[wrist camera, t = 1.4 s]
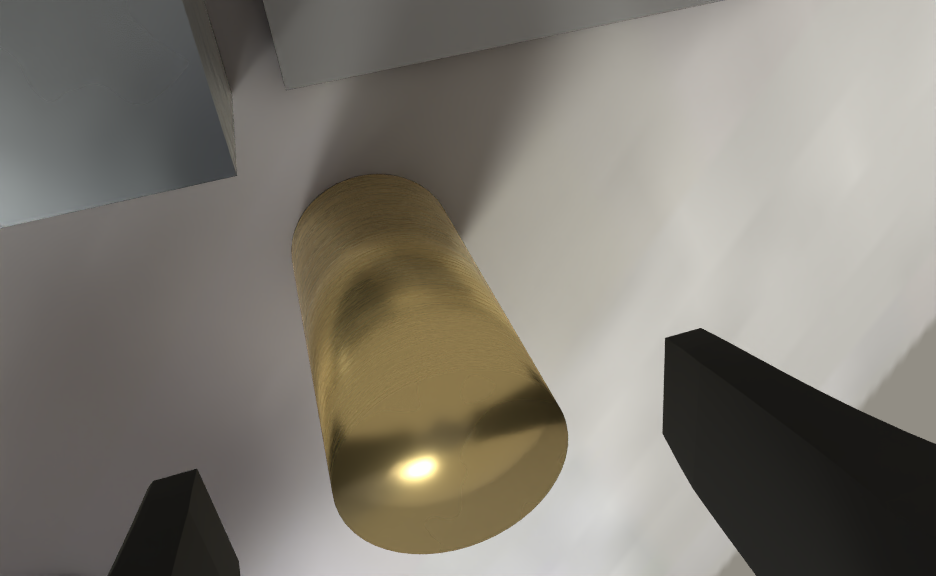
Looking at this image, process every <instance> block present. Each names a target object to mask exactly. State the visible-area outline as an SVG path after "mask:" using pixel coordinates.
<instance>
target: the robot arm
mask: <svg viewBox="0 0 936 576" xmlns="http://www.w3.org/2000/svg"><path fill="white" fill-rule="evenodd" d="M663 435H664V437H665V439H666V441H667V443H668V445H669V446H670V448H671V450H672V452H673V454H674V456H675V458H676V460H677V461H678V463H679V465H680V467H681V469H682V470H683V472H684V474H685V476H686V477H687V479H688V481H689V483H690V484H691V486H692V488H693V489H694V491H695V492H696V494H697V495H698V496H699V498H700V499H701V501H702V502H703V504H704V505H705V506H706V508H707V509H708V510H709V512H710V513H711V515H712V516H713V517H714V519H715V520H716V522H717V523H718V524H719V526H720V527H721V528H722V530H723V531H724V533H725V534H726V535H727V537H728V538H729V539H730V541H731V542H732V543H733V545H734V546H735V548H736V549H737V550H738V552H739V553H740V554H741V556H742V557H743V558H744V560H745V561H746V562H747V564H748V565H749V567H750V568H751V569H752V570H753V572H754V573H755V575H756V576H936V444H934V443H932V442H929V441H927V440H925V439H922V438H920V437H917V436H915V435H913V434H910V433H908V432H906V431H903V430H901V429H899V428H897V427H894V426H892V425H890V424H887V423H886V422H883V421H881V420H879V419H877V418H875V417H872V416H870V415H868V414H866V413H864V412H861V411H859V410H857V409H855V408H853V407H851V406H849V405H847V404H845V403H843V402H841V401H839V400H837V399H835V398H833V397H831V396H829V395H827V394H825V393H823V392H821V391H819V390H817V389H815V388H813V387H811V386H809V385H807V384H805V383H803V382H801V381H799V380H798V379H796V378H794V377H792V376H790V375H788V374H786V373H784V372H782V371H781V370H779V369H777V368H775V367H773V366H771V365H769V364H768V363H766V362H764V361H762V360H760V359H758V358H757V357H755V356H753V355H751V354H749V353H747V352H746V351H744V350H742V349H740V348H738V347H736V346H734V345H733V344H731V343H729V342H727V341H725V340H723V339H721V338H720V337H718V336H716V335H714V334H712V333H710V332H708V331H706V330H704V329H702V328H699V329H696V330H692V331H688V332H685V333H681V334H678V335H674V336H670V337H667V338H665V364H664V400H663ZM108 576H240V569H239V561H238V558H237V556H236V554H235V552H234V550H233V547H232V545H231V543H230V541H229V538H228V536H227V534H226V532H225V530H224V527H223V525H222V523H221V521H220V518H219V516H218V514H217V512H216V510H215V507H214V505H213V503H212V501H211V498H210V496H209V494H208V492H207V490H206V487H205V485H204V483H203V481H202V478H201V476H200V474H199V472H198V470H197V469H194V470H191V471H187V472H184V473H180V474H176V475H173V476H169V477H166V478H162V479H159V480H155V481H153V482H152V483H151V485H150V486H149V488H148V489H147V492H146V494H145V496H144V498H143V501H142V503H141V505H140V507H139V510H138V512H137V514H136V516H135V519H134V521H133V523H132V525H131V527H130V530H129V532H128V534H127V536H126V538H125V540H124V543H123V545H122V547H121V549H120V551H119V553H118V555H117V557H116V560H115V562H114V564H113V566H112V568H111V570H110V572H109V574H108Z"/></svg>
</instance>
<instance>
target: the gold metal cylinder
mask: <svg viewBox="0 0 936 576" xmlns="http://www.w3.org/2000/svg"><path fill="white" fill-rule="evenodd" d="M291 252H292V263H293V269H294V275H295V281H296V286H297V292H298V298H299V304H300V309H301V315H302V321H303V327H304V332H305V338H306V344H307V350H308V355H309V361H310V367H311V373H312V378H313V384H314V390H315V396H316V401H317V407H318V413H319V419H320V424H321V430H322V436H323V442H324V447H325V453H326V459H327V465H328V470H329V476H330V482H331V488H332V493H333V498H334V502H335V506H336V508H337V510H338V513H339V515H340V516H341V518H342V519H343V521H344V522H345V524H346V525H347V526H348V527H349V528H350V529H351V530H352V531H353V532H354V533H355V534H357V535H358V536H359V537H361V538H362V539H364V540H365V541H367V542H369V543H371V544H373V545H375V546H378V547H381V548H384V549H386V550H391V551H395V552H400V553H408V554H434V553H443V552H448V551H454V550H458V549H462V548H465V547H469V546H472V545H475V544H477V543H480V542H483V541H485V540H487V539H489V538H491V537H494V536H496V535H498V534H499V533H501V532H503V531H505V530H506V529H508V528H510V527H511V526H513V525H514V524H516V523H517V522H518V521H520V520H521V519H522V518H524V517H525V516H526V515H527V514H528V513H530V512H531V511H532V510H533V509H534V508H535V507H536V506H537V505H538V504H539V503H540V502H541V501H542V500H543V498H544V497H545V496H546V495H547V493H548V492H549V491H550V489H551V488H552V486H553V485H554V483H555V482H556V480H557V478H558V476H559V474H560V472H561V470H562V467H563V464H564V461H565V458H566V453H567V448H568V431H567V424H566V421H565V418H564V415H563V413H562V411H561V409H560V407H559V406H558V404H557V402H556V400H555V399H554V397H553V395H552V394H551V392H550V390H549V388H548V387H547V385H546V383H545V382H544V380H543V378H542V376H541V375H540V373H539V371H538V370H537V368H536V366H535V364H534V363H533V361H532V359H531V358H530V356H529V354H528V353H527V351H526V349H525V347H524V346H523V344H522V342H521V341H520V339H519V337H518V335H517V334H516V332H515V330H514V329H513V327H512V325H511V323H510V322H509V320H508V318H507V317H506V315H505V313H504V311H503V310H502V308H501V306H500V305H499V303H498V301H497V299H496V298H495V296H494V294H493V293H492V291H491V289H490V288H489V286H488V284H487V282H486V281H485V279H484V277H483V276H482V274H481V272H480V270H479V269H478V267H477V265H476V264H475V262H474V260H473V258H472V257H471V255H470V253H469V252H468V250H467V248H466V246H465V245H464V243H463V241H462V240H461V238H460V236H459V235H458V233H457V231H456V229H455V228H454V226H453V224H452V223H451V221H450V219H449V217H448V216H447V214H446V212H445V211H444V209H443V207H442V205H441V204H440V203H439V202H438V200H437V199H436V198H435V197H434V196H433V195H432V194H431V193H430V192H429V191H428V190H426V189H425V188H423V187H422V186H420V185H419V184H417V183H415V182H413V181H411V180H408V179H405V178H402V177H398V176H393V175H385V174H370V175H363V176H358V177H354V178H351V179H347V180H345V181H343V182H340V183H338V184H336V185H334V186H332V187H331V188H329V189H327V190H326V191H325V192H323V193H322V194H321V195H319V196H318V197H317V198H316V199H315V200H314V201H313V202H312V203H311V204H310V205H309V207H308V208H307V209H306V210H305V212H304V213H303V215H302V217H301V218H300V220H299V222H298V224H297V227H296V229H295V232H294V236H293V240H292V249H291Z"/></svg>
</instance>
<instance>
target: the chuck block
mask: <svg viewBox="0 0 936 576" xmlns="http://www.w3.org/2000/svg"><path fill="white" fill-rule="evenodd" d="M233 176H237V168H236V152H235V135H234V119H233V103H232V93H231V90H230V87H229V83H228V80H227V77H226V73H225V70H224V67H223V63H222V60H221V57H220V53H219V50H218V47H217V43H216V40H215V37H214V33H213V30H212V27H211V23H210V20H209V16H208V13H207V10H206V6H205V3H204V0H0V228H4V227H8V226H13V225H17V224H22V223H26V222H31V221H35V220H40V219H44V218H49V217H53V216H58V215H62V214H67V213H71V212H76V211H80V210H85V209H89V208H94V207H98V206H103V205H107V204H112V203H116V202H121V201H125V200H130V199H134V198H139V197H143V196H148V195H152V194H157V193H161V192H166V191H170V190H175V189H179V188H184V187H188V186H193V185H197V184H202V183H206V182H211V181H215V180H220V179H224V178H229V177H233Z"/></svg>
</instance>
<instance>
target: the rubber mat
mask: <svg viewBox="0 0 936 576" xmlns="http://www.w3.org/2000/svg"><path fill="white" fill-rule="evenodd" d="M718 1H723V0H263V3H264V7H265V11H266V15H267V19H268V23H269V27H270V31H271V34H272V38H273V42H274V46H275V50H276V54H277V58H278V62H279V65H280V69H281V73H282V77H283V81H284V85H285V89H286V90H291V89H296V88H301V87H305V86H310V85H315V84H320V83H325V82H330V81H335V80H339V79H344V78H349V77H354V76H359V75H364V74H369V73H373V72H378V71H383V70H388V69H393V68H398V67H403V66H408V65H412V64H417V63H422V62H427V61H432V60H437V59H442V58H446V57H451V56H456V55H461V54H466V53H471V52H476V51H480V50H485V49H490V48H495V47H500V46H505V45H510V44H514V43H519V42H524V41H529V40H534V39H539V38H544V37H548V36H553V35H558V34H563V33H568V32H573V31H578V30H582V29H587V28H592V27H597V26H602V25H607V24H612V23H616V22H621V21H626V20H631V19H636V18H641V17H646V16H650V15H655V14H660V13H665V12H670V11H675V10H680V9H684V8H689V7H694V6H699V5H704V4H709V3H714V2H718Z"/></svg>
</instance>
